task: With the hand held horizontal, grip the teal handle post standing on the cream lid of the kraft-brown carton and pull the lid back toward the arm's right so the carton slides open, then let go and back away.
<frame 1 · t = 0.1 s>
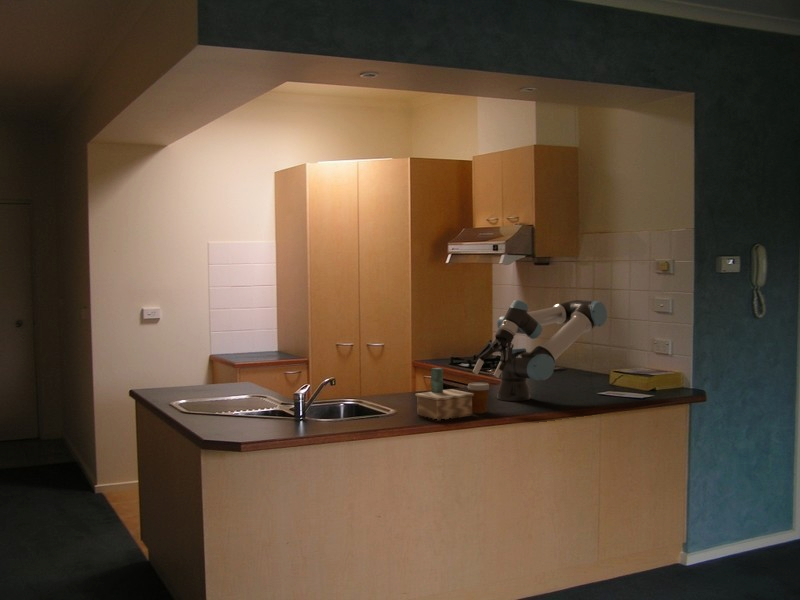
hand: (485, 374, 363), 15 cm above the countertop, tool tilted 35°, fingers open, 13 cm apart
lid: (444, 382, 352), point 14 cm above the countertop, slide at 0.0 cm
disposable coffee cup: (478, 412, 360), on the countertop
carton: (444, 415, 353), on the countertop
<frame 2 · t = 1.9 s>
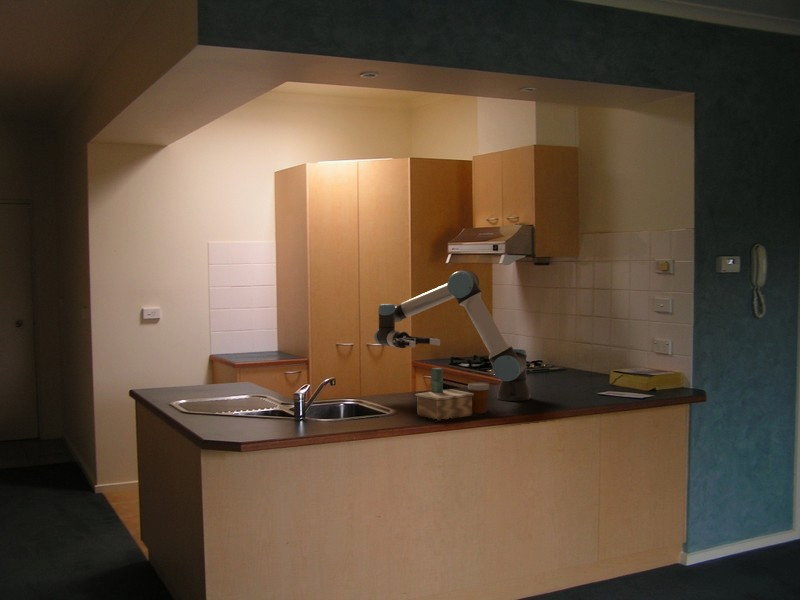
hand: (427, 343, 369), 28 cm above the countertop, tool horizontal, fingers open, 13 cm apart
nothing on the countertop moved.
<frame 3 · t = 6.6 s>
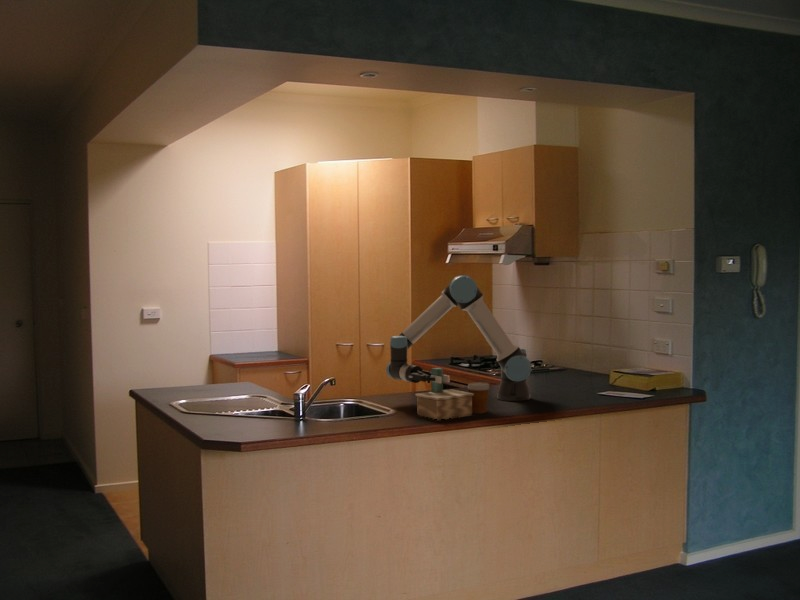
hand: (444, 379, 352), 15 cm above the countertop, tool horizontal, fingers closed on lid, 3 cm apart
lid: (444, 382, 352), point 14 cm above the countertop, slide at 0.0 cm, touching gripper
everything else where it was.
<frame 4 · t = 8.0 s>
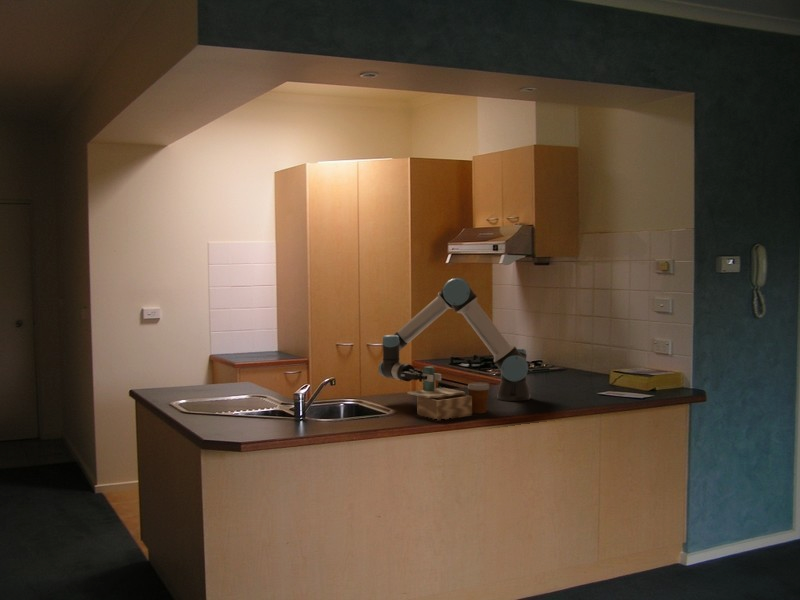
hand: (436, 378, 356), 15 cm above the countertop, tool horizontal, fingers closed on lid, 3 cm apart
lid: (435, 381, 357), point 14 cm above the countertop, slide at 5.8 cm, touching gripper
everything else where it was.
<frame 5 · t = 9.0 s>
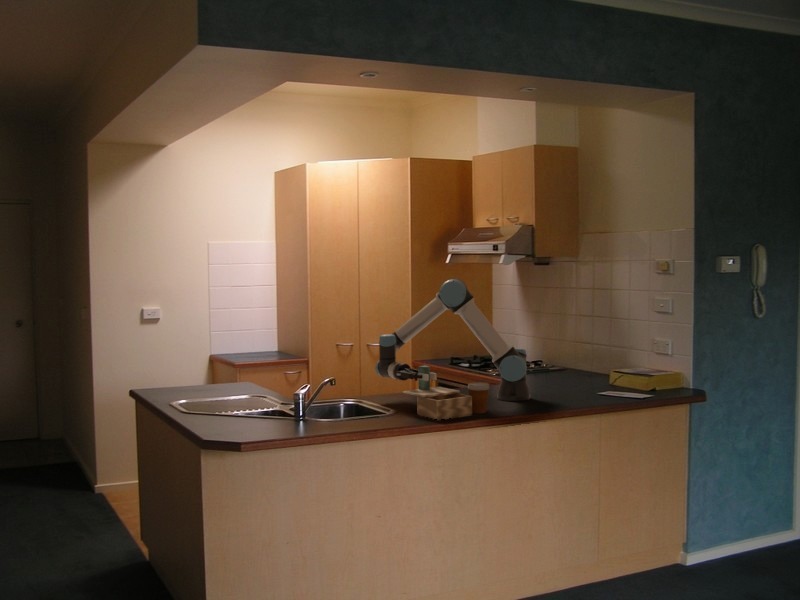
hand: (431, 377, 359), 15 cm above the countertop, tool horizontal, fingers closed on lid, 3 cm apart
lid: (431, 380, 359), point 14 cm above the countertop, slide at 9.0 cm, touching gripper
everything else where it was.
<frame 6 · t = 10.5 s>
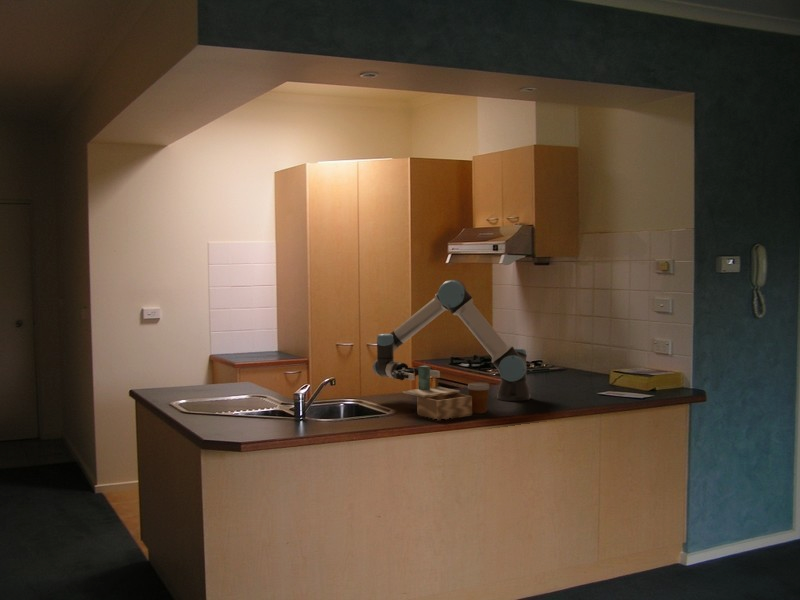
hand: (426, 375, 362), 15 cm above the countertop, tool horizontal, fingers open, 13 cm apart
lid: (431, 380, 359), point 14 cm above the countertop, slide at 9.0 cm
everything else where it was.
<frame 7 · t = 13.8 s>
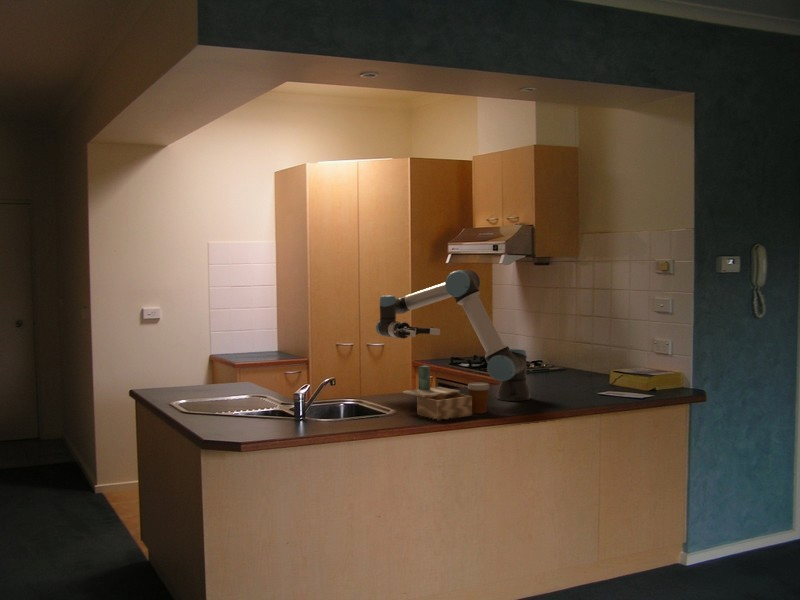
hand: (427, 333, 377), 32 cm above the countertop, tool horizontal, fingers open, 13 cm apart
nothing on the countertop moved.
at the end: lid slide at 9.0 cm; the gripper is holding nothing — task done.
